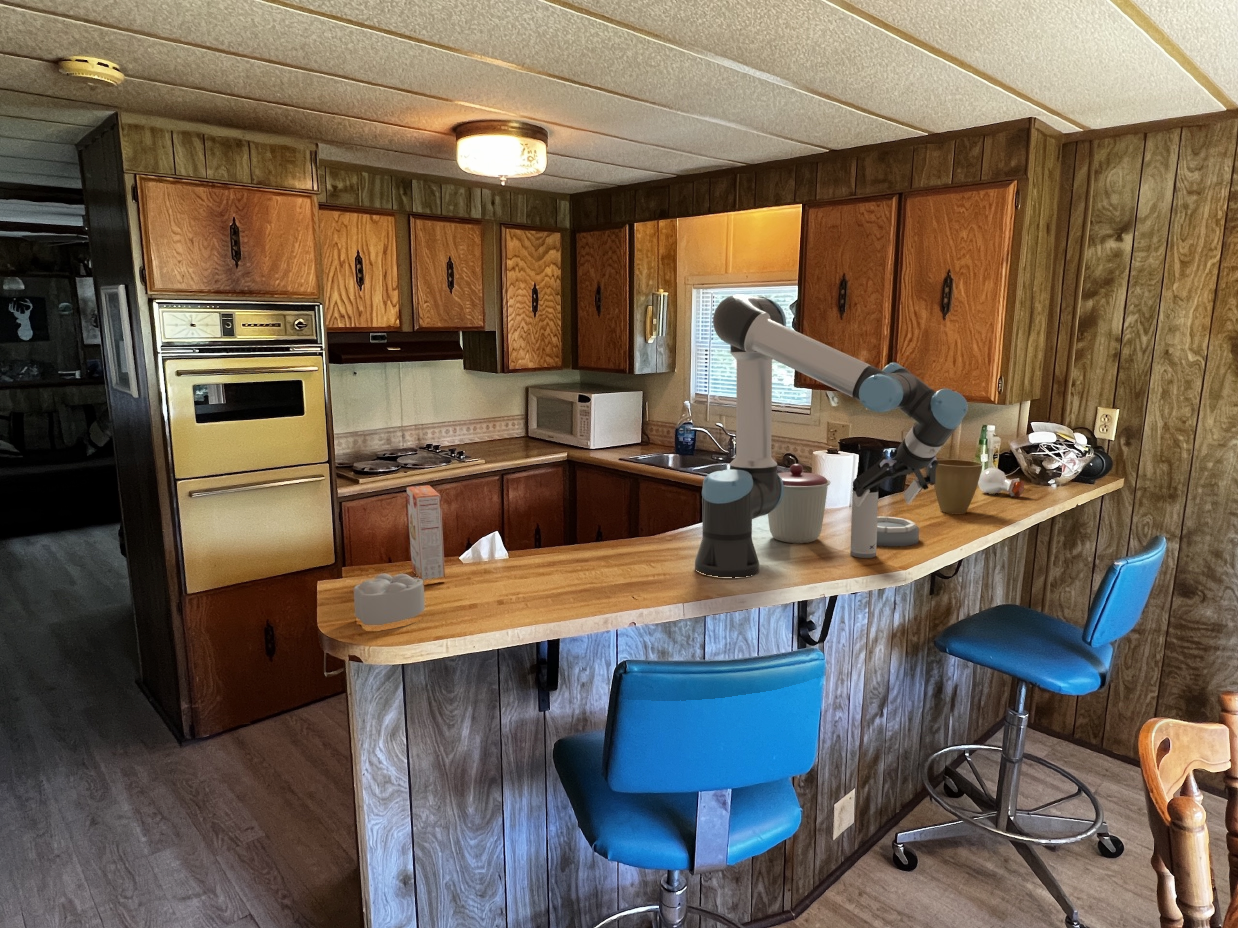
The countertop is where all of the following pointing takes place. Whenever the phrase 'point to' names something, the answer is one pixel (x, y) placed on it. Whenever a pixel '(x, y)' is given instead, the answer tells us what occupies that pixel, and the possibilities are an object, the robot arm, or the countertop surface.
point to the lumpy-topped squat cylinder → (388, 599)
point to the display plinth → (896, 532)
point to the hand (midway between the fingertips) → (881, 500)
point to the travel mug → (864, 525)
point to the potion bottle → (999, 482)
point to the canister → (799, 507)
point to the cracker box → (425, 532)
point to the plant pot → (956, 484)
